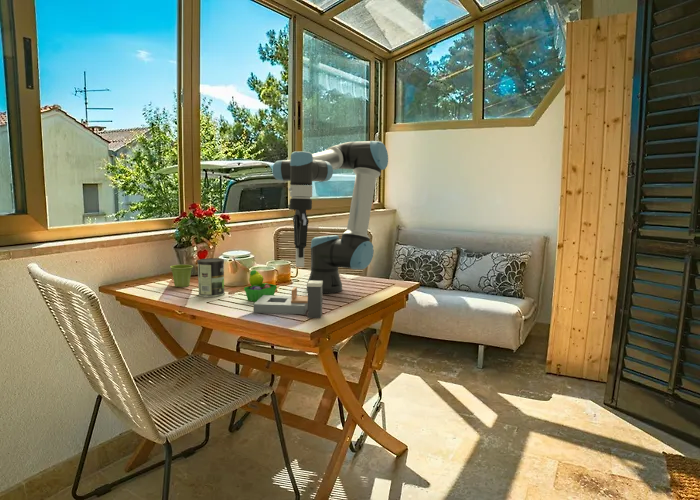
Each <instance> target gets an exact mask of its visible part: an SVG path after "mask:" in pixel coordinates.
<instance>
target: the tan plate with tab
mask: <svg viewBox="0 0 700 500" xmlns="http://www.w3.org/2000/svg"><path fill="white" fill-rule="evenodd" d="M291 296H292V300H291V303H308V295H298V287H297V286H294V287H293V288H292V289H291Z"/></svg>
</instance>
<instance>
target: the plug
mask: <svg viewBox="0 0 700 500" xmlns="http://www.w3.org/2000/svg"><path fill="white" fill-rule="evenodd" d="M307 282H308V281H307ZM322 285H323V281H314V280H309V282H308V283H306V288H307V287H308V291H307V296H308V309H307V318H308V319H321V318H322V316H323V293H322Z"/></svg>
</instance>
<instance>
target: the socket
mask: <svg viewBox="0 0 700 500" xmlns="http://www.w3.org/2000/svg"><path fill="white" fill-rule="evenodd" d="M291 300H292V295H275V294H274V295H263V296H262V297H261V298H260V299H259V300H257V301H256V302H254V303H253V313H254V314H255V313H258V314H259V313H260V314H261V313H263V314H283V315H284V314H289V315H291V314H292V315H305V314H307V312H308V303H291Z"/></svg>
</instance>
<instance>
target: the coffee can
mask: <svg viewBox="0 0 700 500" xmlns="http://www.w3.org/2000/svg"><path fill="white" fill-rule="evenodd" d="M196 262H197V279H198V280H197V282H198V284H197V285H198V296H199V297H201V298H215V297H216V298H218V297H221V296H222V297H223V296H225V294H226V293H225V266H224V264H225V260H224V258H217V257H216V258H215V257H214V258H213V257H208V258H201V259H198V260H197V261H196Z"/></svg>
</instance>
